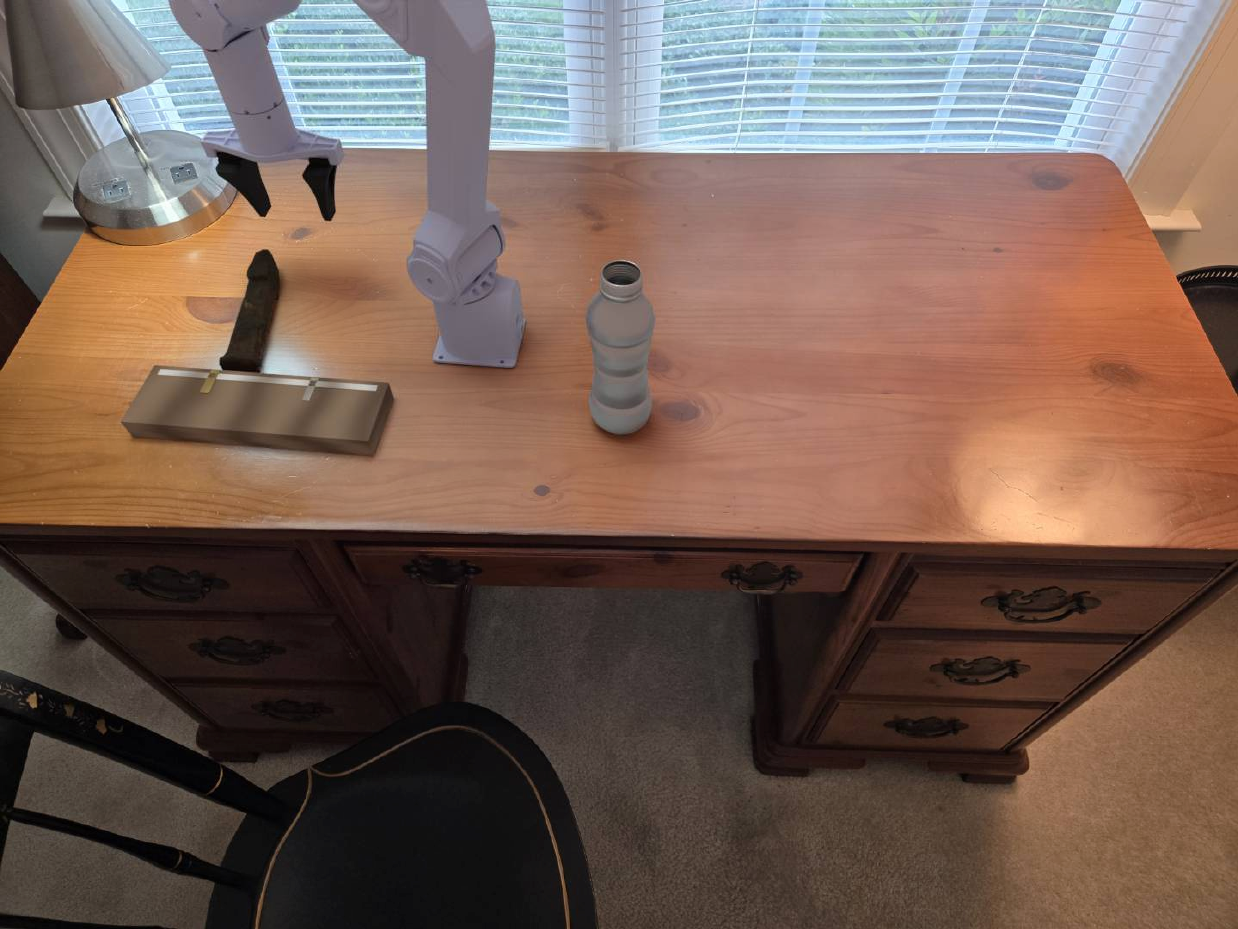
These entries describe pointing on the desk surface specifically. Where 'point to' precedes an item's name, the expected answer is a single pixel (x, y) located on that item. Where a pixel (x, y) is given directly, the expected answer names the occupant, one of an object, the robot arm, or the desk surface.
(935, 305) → the desk surface
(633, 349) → the plastic bottle
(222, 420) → the grey brown flat box
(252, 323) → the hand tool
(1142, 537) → the desk surface
